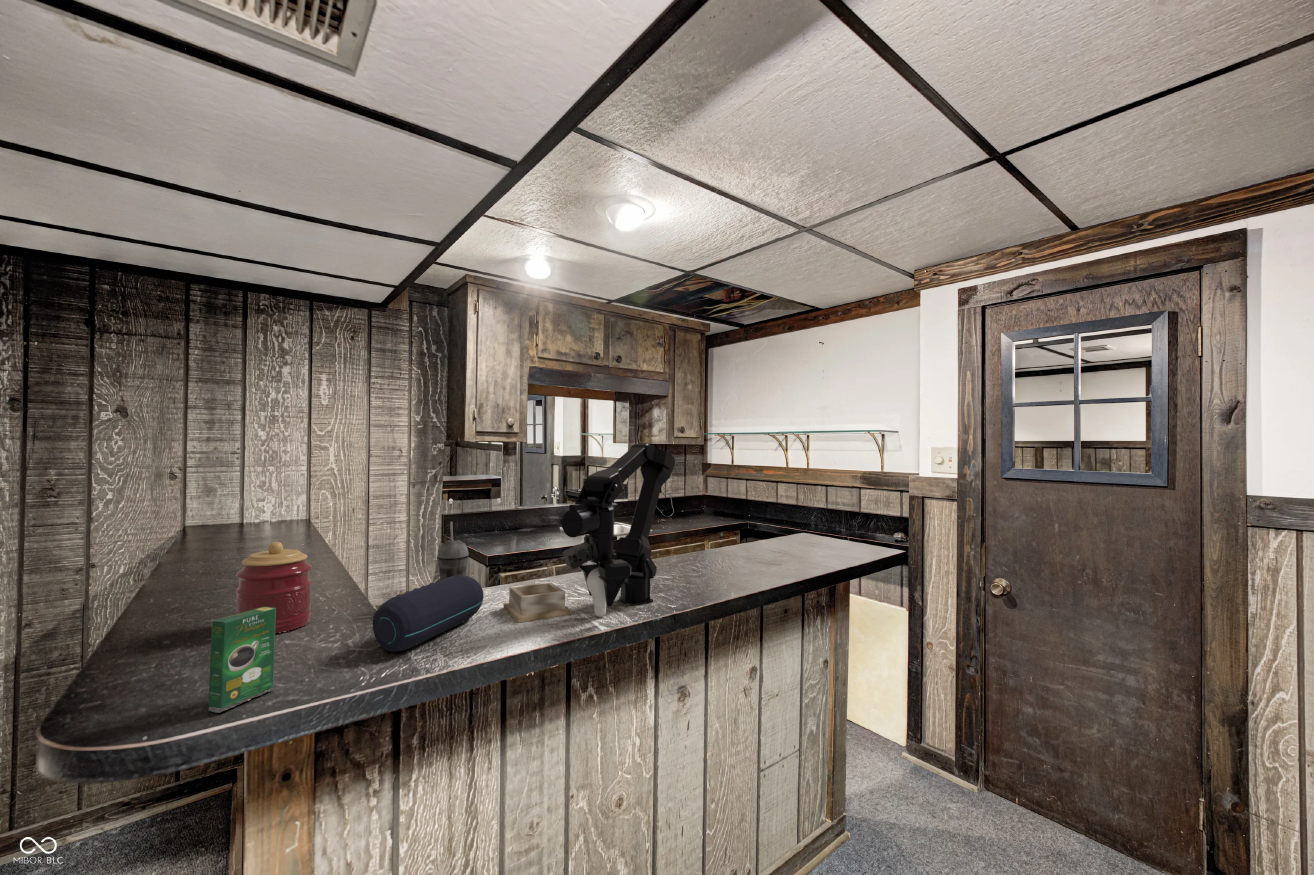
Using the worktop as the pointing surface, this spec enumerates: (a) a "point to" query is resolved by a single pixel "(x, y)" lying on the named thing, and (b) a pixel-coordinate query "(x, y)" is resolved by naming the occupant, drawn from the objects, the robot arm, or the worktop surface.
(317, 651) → the worktop surface
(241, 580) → the canister
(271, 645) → the coffee box
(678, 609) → the worktop surface
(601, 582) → the lightbulb
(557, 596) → the box
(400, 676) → the worktop surface
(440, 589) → the portable speaker
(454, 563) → the beverage cup
